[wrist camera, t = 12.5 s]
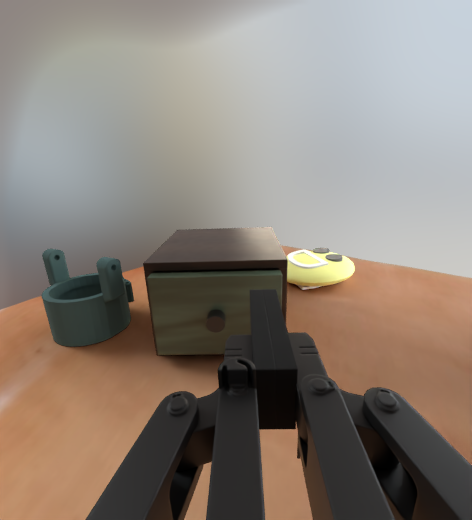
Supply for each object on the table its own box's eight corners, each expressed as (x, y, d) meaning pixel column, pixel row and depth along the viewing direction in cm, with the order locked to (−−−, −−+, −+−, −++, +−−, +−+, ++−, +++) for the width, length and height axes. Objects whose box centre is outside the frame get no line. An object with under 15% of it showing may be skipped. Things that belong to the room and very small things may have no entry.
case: (285, 353, 27) (287, 259, 24) (156, 355, 27) (142, 263, 24) (271, 293, 40) (271, 227, 37) (183, 295, 40) (177, 229, 37)
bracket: (130, 339, 30) (117, 260, 28) (35, 353, 28) (10, 270, 26) (138, 303, 39) (128, 240, 36) (65, 312, 37) (49, 246, 34)
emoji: (295, 276, 37) (373, 259, 39) (263, 252, 48) (326, 240, 50) (296, 303, 38) (372, 285, 40) (265, 273, 49) (326, 260, 51)
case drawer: (282, 362, 25) (284, 280, 22) (154, 364, 25) (141, 283, 22) (268, 294, 38) (268, 238, 35) (184, 296, 38) (178, 240, 35)
